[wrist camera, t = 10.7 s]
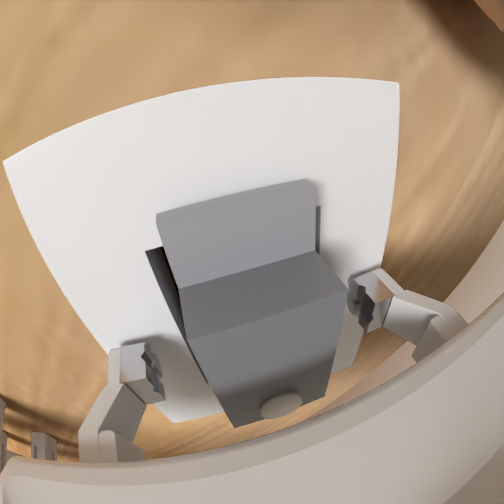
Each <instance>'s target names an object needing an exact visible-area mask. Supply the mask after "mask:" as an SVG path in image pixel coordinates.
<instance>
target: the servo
mask: <svg viewBox="0 0 504 504" xmlns="http://www.w3.org/2000/svg"><path fill="white" fill-rule="evenodd" d="M156 226H157V229H158V232H159V235H160V238H161V241H162V244H163V247H164V250H165V253H166V256H167V259H168V262H169V264H170V267H171V270H172V273H173V275H174V278H175V281H176V284H177V286H178V289H179V296H180V302H181V308H182V315H183V321H184V326H185V332H186V338H187V341H188V343H189V345H190V348H191V350H192V352H193V354H194V356H195V358H196V360H197V362H198V364H199V365H200V367H201V369H202V371H203V373H204V375H205V377H206V379H207V381H208V383H209V384H210V386H211V388H212V390H213V392H214V394H215V395H216V397H217V399H218V401H219V403H220V404H221V406H222V408H223V410H224V411H225V413H226V415H227V416H228V418H229V420H230V421H231V423H232V425H233V426H234V428H236V427H239V426H243V425H246V424H250V423H253V422H256V421H260V420H263V419H273V418H278V417H281V416H284V415H287V414H289V413H291V412H293V411H294V410H296V409H297V408H299V407H300V406H302V405H305V404H307V403H310V402H312V401H315V400H317V399H319V398H322V397H324V396H325V392H326V389H327V385H328V381H329V377H330V373H331V370H332V365H333V361H334V357H335V353H336V349H337V344H338V340H339V335H340V330H341V325H342V320H343V315H344V310H345V305H346V299H347V293H348V288H347V287H346V286H345V284H344V283H343V282H342V281H341V280H340V279H339V277H338V276H337V275H336V274H335V273H334V271H333V270H332V269H331V268H330V267H329V266H328V264H327V263H326V262H325V261H324V260H323V259H322V257H321V256H320V255H319V254H318V253H317V252H316V251H315V237H316V186H315V185H313V184H312V183H311V182H309V181H308V180H306V179H301V180H295V181H290V182H285V183H280V184H275V185H271V186H266V187H261V188H257V189H252V190H248V191H243V192H239V193H234V194H230V195H226V196H222V197H218V198H213V199H209V200H205V201H201V202H198V203H194V204H190V205H186V206H182V207H178V208H175V209H171V210H167V211H164V212H160V213H157V214H156Z"/></svg>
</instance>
